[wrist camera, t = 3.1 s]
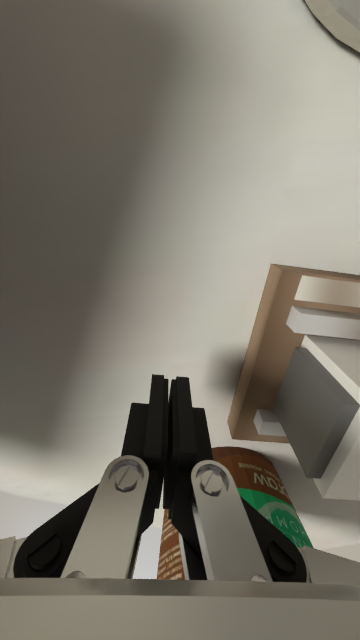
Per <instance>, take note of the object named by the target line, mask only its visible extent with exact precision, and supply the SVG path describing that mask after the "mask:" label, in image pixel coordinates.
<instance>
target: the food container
mask: <svg viewBox="0 0 360 640" xmlns="http://www.w3.org/2000/svg"><path fill="white" fill-rule="evenodd" d="M211 449H212V455H213V460H214V461H216V462H219V463H220V464H222V465H223V466H225V467H226V469H227V470H228V471H229V472H230V474H231V476H232V477H233V480H234V483H235V485H236V488H237V490H238V493H239V495H240V496H241V497H242V498H243V499H244V500H246V501H247V502H248V503H249V504H250V505H251V506H252V507H254V508H255V509H256V510H257V511H258V512H259V513H260V514H262V515H263V516H264V517H265V518H266V519H267V520H268V521H270V522H271V523H272V524H273V525H274V526H275V527H276V528H278V529H279V530H280V531H281V532H282V533H283V534H284V535H285V536H287V537H288V538H289V539H290V540H291V541H292V542H293V543H294V544H295V545H296V547H299V548H303V546H304V545H305V546H308V547H311V548H313V546H312V544H311V542H310V540H309V537H308V535H307V533H306V531H305V529H304V527H303V525H302V523H301V521H300V519H299V517H298V515H297V513H296V511H295V509H294V507H293V505H292V502H291V500H290V498H289V496H288V494H287V492H286V490H285V488H284V486H283V484H282V482H281V480H280V478H279V476H278V474H277V472H276V470H275V468H274V466H273V464H272V462H270V461H269V460H268V459H267V458H266V457H264V456H263V455H261V454H259V453H257V452H255V451H252V450H249V449H245V448H240V447H216V448H211ZM157 579H162V580H185V576H184V569H183V563H182V556H181V550H180V543H179V532H178V531H177V529H176V528H175V527H174V526H173V525H172V524H171V519H168V509H165V511H164V519H163V528H162V537H161V546H160V555H159V563H158V572H157Z"/></svg>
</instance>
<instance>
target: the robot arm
mask: <svg viewBox="0 0 360 640" xmlns="http://www.w3.org/2000/svg"><path fill="white" fill-rule="evenodd" d="M305 1H306V3H307V5H308V7H309V8H310V10H311V12H312V13H313V14H314V15H315V16H316V18H317V19H318V20H319V21H320V22H321V23H322V24H323V25H324V26H325V27H326V28H327V29H328V30H329V31H330V32H331V33H332V34H333V35H334V37H335V38H337V39H339V40H340V41H342V42H343V43H345V44H347V45H348V46H350V47H352V48H353V49H355V50H356V51H358V52H360V0H305ZM163 479H164V489H163V509H168V519H171V524H172V525H173V526H174V527H175V528H176V529H177V531H178V532H179V543H180V550H181V556H182V563H183V569H184V576H185V580H162V579H132V578H133V573H134V569H135V564H136V559H137V554H138V550H139V546H140V541H141V535H142V533H143V532H144V531H145V530H146V529H147V528H148V527H149V526H150V525H151V524H152V523H153V519H154V512H155V508H156V509H159V504H160V498H161V492H162V485H163ZM0 640H360V562H356V561H353V560H349V559H347V558H343V557H340V556H337V555H334V554H330V553H327V552H324V551H321V550H317V549H314V548H311V547H308V546H305V545H304V546H303V548H299V547H296V545H295V544H294V543H293V542H292V541H291V540H290V539H289V538H288V537H287V536H285V535H284V534H283V533H282V532H281V531H280V530H279V529H278V528H276V527H275V526H274V525H273V524H272V523H271V522H270V521H268V520H267V519H266V518H265V517H264V516H263V515H262V514H260V513H259V512H258V511H257V510H256V509H255V508H254V507H252V506H251V505H250V504H249V503H248V502H247V501H246V500H244V499H243V498H242V497H241V496H240V495H239V493H238V490H237V488H236V485H235V483H234V480H233V477H232V476H231V474H230V472H229V471H228V470H227V469H226V467H225V466H223V465H222V464H220V463H219V462H216V461H214V460H213V455H212V449H211V443H210V438H209V432H208V427H207V421H206V415H205V410H204V408H194V407H192V402H191V393H190V384H189V378H188V377H176V380H174V379H172V381H171V388H170V395H169V402H168V379H164V375H153V374H152V382H151V391H150V401H149V404H142V403H132V404H131V409H130V414H129V419H128V424H127V429H126V434H125V439H124V444H123V449H122V454H121V457H118V458H116V459H114V460H113V461H112V462H111V463H110V464H109V465H108V466H107V468H106V470H105V472H104V474H103V477H102V479H101V481H100V483H99V484H98V485H96V486H95V487H94V488H92V489H91V490H89V491H88V492H87V493H85V494H84V495H83V496H81V497H80V498H78V499H77V500H76V501H74V502H73V503H72V504H70V505H69V506H68V507H66V508H65V509H63V510H62V511H61V512H59V513H58V514H57V515H55V516H54V517H53V518H51V519H50V520H48V521H47V522H46V523H44V524H43V525H42V526H40V527H39V528H37V529H36V530H35V531H34V532H33V533H31V534H30V535H29V536H28V537H26V538H21V539H17V540H16V538H15V536H14V537H9V538H5V539H0Z"/></svg>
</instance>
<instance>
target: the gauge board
mask: <svg viewBox="0 0 360 640" xmlns="http://www.w3.org/2000/svg"><path fill="white" fill-rule="evenodd" d="M305 335H313V336H322V337H332V338H341V339H350V340H359V341H360V275H353V274H346V273H338V272H330V271H323V270H315V269H307V268H300V267H292V266H284V265H277V264H271V266H270V270H269V273H268V277H267V280H266V284H265V288H264V291H263V295H262V298H261V302H260V306H259V309H258V313H257V316H256V320H255V324H254V327H253V331H252V334H251V338H250V342H249V345H248V349H247V352H246V356H245V360H244V363H243V367H242V370H241V374H240V378H239V381H238V385H237V388H236V392H235V396H234V399H233V403H232V406H231V410H230V414H229V417H228V425H229V429H230V433H231V437H232V439H238V440H251V441H264V442H278V443H290V442H289V440H288V438H287V436H286V434H285V432H284V430H283V428H282V426H281V424H280V422H279V420H278V418H277V416H276V414H275V412H274V410H273V406H274V403H275V401H276V398H277V395H278V392H279V390H280V387H281V384H282V381H283V379H284V376H285V373H286V370H287V368H288V365H289V362H290V359H291V357H292V354H293V351H294V349H295V347H301V344H302V342H303V339H304V336H305Z"/></svg>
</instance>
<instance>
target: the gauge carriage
mask: <svg viewBox="0 0 360 640" xmlns="http://www.w3.org/2000/svg"><path fill="white" fill-rule="evenodd" d="M273 410H274V412H275V414H276V416H277V418H278V420H279V422H280V424H281V426H282V428H283V430H284V432H285V434H286V436H287V438H288V440H289V442H290V444H291V446H292V448H293V450H294V452H295V454H296V456H297V458H298V460H299V463H300V465H301V467H302V469H303V471H304V473H305V475H306V477H307V478H313V480H314V482H315V484H316V486H317V488H318V490H319V492H320V494H321V496H322V498H323V499H339V500H356V501H360V341H359V340H350V339H341V338H332V337H322V336H313V335H305V336H304V339H303V342H302V344H301V347H295V349H294V351H293V354H292V357H291V359H290V362H289V365H288V368H287V370H286V373H285V376H284V379H283V381H282V384H281V387H280V390H279V392H278V395H277V398H276V401H275V403H274V406H273Z"/></svg>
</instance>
